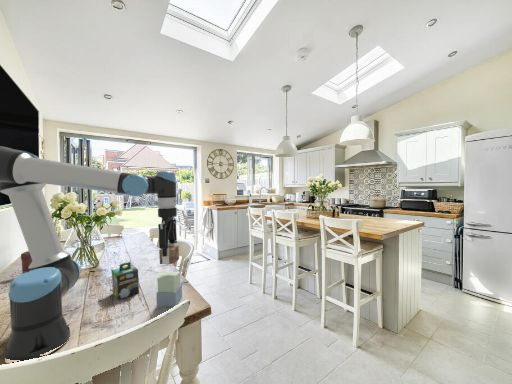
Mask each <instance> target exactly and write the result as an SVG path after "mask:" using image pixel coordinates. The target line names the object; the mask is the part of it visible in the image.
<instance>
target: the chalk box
mask: <svg viewBox="0 0 512 384" xmlns="http://www.w3.org/2000/svg"><path fill="white" fill-rule="evenodd" d="M139 280H140V279H139V269H138V268H137V267H135V266H134V265H133V264H131V261H129V262H123V263H120V264H119V268H115V269H112V270H111V283H112V295H114V297H115V298H116V299H117V300H118V301H119V300H121V299H125V298H128V297H131V296H134V295H137V294H140V293H139V292H140V286H139V285H140V284H139V282H140V281H139Z"/></svg>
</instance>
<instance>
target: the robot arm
mask: <svg viewBox="0 0 512 384" xmlns="http://www.w3.org/2000/svg"><path fill="white" fill-rule="evenodd" d="M176 180H177V179H176V173H175V172H174V171H172V170H171V171H170V170H161V171H160V170H159V171H157V172H156V175H148V176H147V175H142V174H138V173H128V172H123V171H116V170H110V169H105V168H99V167H92V166H86V165H80V164H75V163H68V162H63V161H55V160H50V159H45V158H44V159H43V158H40V157H38V156H37V155H35V154H33V153H31V152H29V151H26V150H19V149H14V148H11V147H7V146H2V145H0V193H1V194H4V195H7V196H8V197H9V200H10V203H11V206H12V209H13V212H14V214H15V216H16V217H15V218H16V220H17V223H18V226H19V228H20V231H21V233H22V236H23V238H24V241H25V244H26V246H27V249H28V252H30V255H31V258H32V263H31V264H30V266H29V267H28V268H29V270H30V271H29V272H27V273H23V274H22V273H21V274H19V275H18V276H16V277H15V278H14V279H12V281H10V283H9V290H8V298H9V313H10V325H11V326H10V328H11V330H10V331H11V332H10V334H9V338H8V340H7V345H6V346H5V349H4V350H3V358H4V357H5V358H6V359H10V360H20V361H24V360H29V359H33V358H39V357H42V356H40V354H44V353H46V352H49V351H50V350H53V349H55V348H57V347H59V346H61V345H62V344H64V343H65V342H66V341H67V340H68V339H69V337H70V338H71V328H70V326H69V325H68V324H67V321H66V320H65V317H64V315H63V297H64V296H65V294H67V293H68V292H69V291H70V290H71V289H72V288H73V287H74V286H75V285H76V283H77V282H78V280H79V278H80V275H81V266H80V265H79V263H78V262H77V261H76V260H73V258H72V256H71V254H70V252H67V251H65V250H64V248H63V246H62V244H61V240H60V237H59V235H58V231H57V229H56V226H55V223H54V221H53V218H52V215H51V211H50V209H49V206H48V203H47V200H46V198H45V195H44V192H43V189H44V188H45V186H46V185H53V186H59V187H60V186H61V187H68V188H75V189H83V190H92V191H98V192H107V193H115V194H119V195H128V196H130V197H140V196H143V195H157V198H156V199H157V208H158V209H157V216H158V218H161V223H158V225H157V226H158V249H159V250H160V249H162V264H161V265H170V264H169V248H168V246H176V244H177V243H178V237H177V236H178V234H177V219H176V218H174V217H177V215H178V213H177V212H178V209H177V202H178V198H177V181H176ZM69 340H70V339H69ZM69 340H68V341H69ZM43 356H45V355H43ZM17 362H19V361H17ZM12 363H14V362H12Z"/></svg>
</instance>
